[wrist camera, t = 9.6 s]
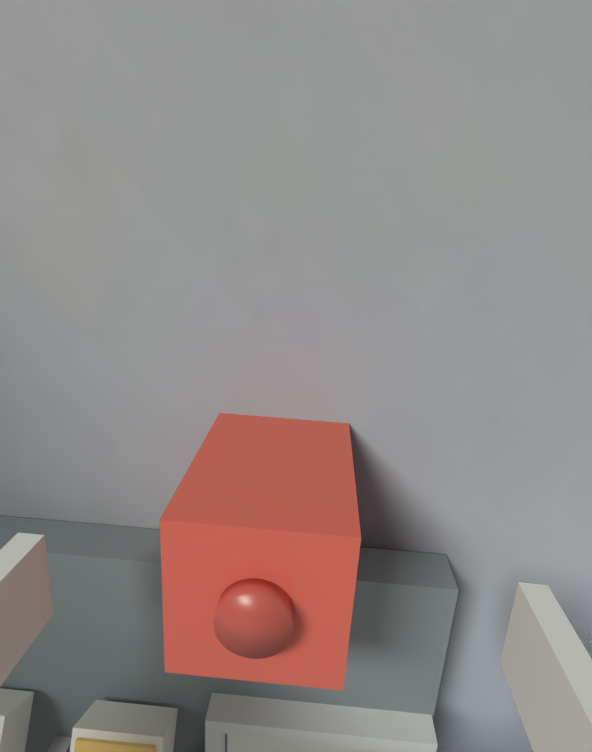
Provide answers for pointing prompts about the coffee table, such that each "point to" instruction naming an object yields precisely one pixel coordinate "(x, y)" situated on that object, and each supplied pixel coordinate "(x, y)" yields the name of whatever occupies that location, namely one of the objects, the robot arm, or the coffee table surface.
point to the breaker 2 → (125, 728)
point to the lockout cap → (263, 554)
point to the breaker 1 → (14, 719)
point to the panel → (220, 695)
